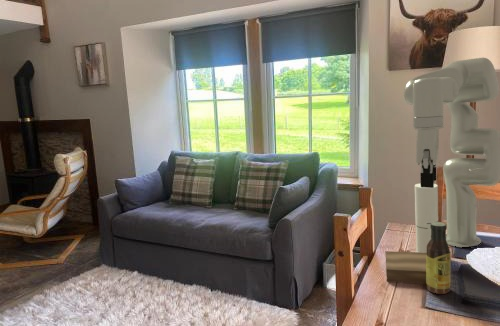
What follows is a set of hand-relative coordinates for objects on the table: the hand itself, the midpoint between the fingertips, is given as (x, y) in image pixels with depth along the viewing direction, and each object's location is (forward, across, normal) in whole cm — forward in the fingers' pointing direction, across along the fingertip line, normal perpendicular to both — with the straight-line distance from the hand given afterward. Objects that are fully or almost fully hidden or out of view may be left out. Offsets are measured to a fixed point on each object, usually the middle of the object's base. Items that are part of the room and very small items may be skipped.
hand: (428, 183), depth 105 cm
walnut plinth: (+31, -8, -7) cm, 32 cm away
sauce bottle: (+31, +1, +2) cm, 31 cm away
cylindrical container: (+31, -24, -3) cm, 39 cm away
